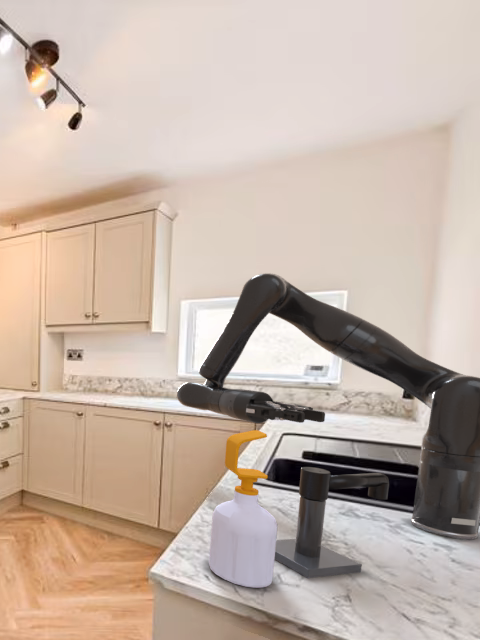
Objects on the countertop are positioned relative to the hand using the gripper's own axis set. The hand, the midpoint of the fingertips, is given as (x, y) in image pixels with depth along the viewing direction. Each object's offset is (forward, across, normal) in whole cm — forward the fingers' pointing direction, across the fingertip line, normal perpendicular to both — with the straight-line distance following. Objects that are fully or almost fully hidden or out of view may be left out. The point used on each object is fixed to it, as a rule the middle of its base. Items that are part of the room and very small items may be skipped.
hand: (313, 417), depth 87 cm
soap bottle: (+13, -28, +24) cm, 39 cm away
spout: (+11, -5, +13) cm, 18 cm away
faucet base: (+11, -12, +24) cm, 29 cm away
